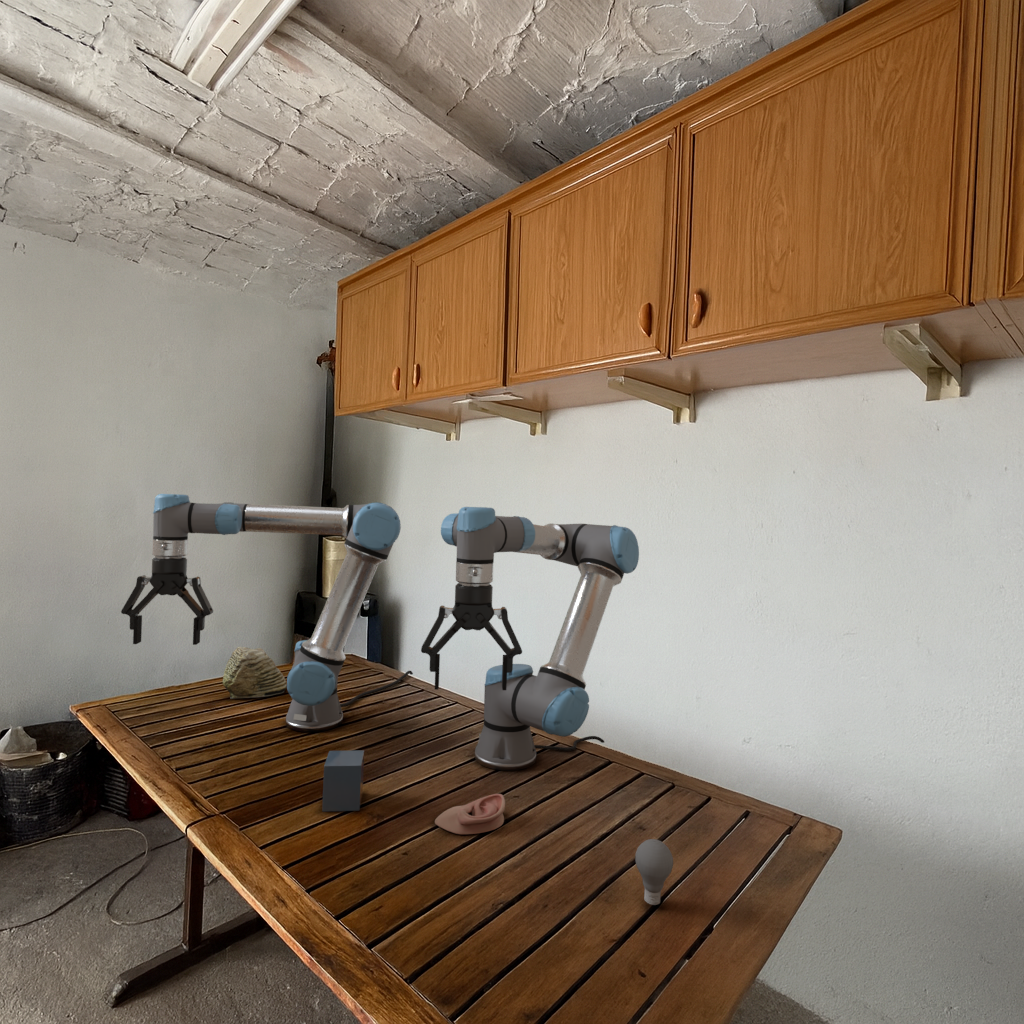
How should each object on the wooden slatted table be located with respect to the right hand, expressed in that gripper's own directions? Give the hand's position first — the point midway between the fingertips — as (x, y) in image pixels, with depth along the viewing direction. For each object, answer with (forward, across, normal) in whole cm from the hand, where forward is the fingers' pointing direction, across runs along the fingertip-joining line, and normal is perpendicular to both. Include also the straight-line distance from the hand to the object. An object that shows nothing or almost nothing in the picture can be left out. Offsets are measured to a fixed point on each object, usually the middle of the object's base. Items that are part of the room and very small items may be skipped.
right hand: (470, 688), depth 128 cm
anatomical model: (+26, +1, -3) cm, 26 cm away
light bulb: (+26, +30, -29) cm, 49 cm away
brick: (+26, -26, +5) cm, 37 cm away
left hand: (0, -74, +34) cm, 81 cm away
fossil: (+26, -65, +75) cm, 103 cm away
